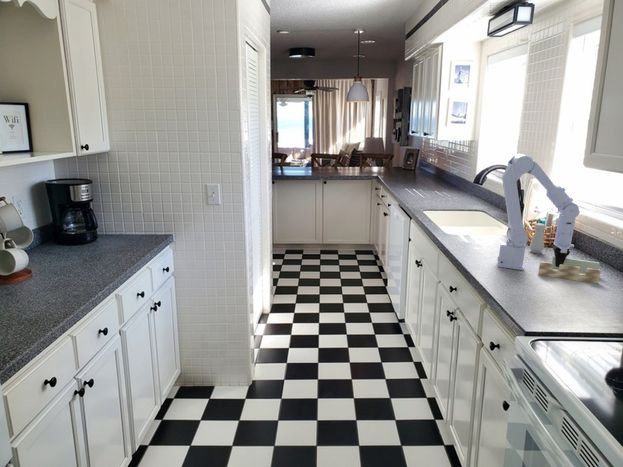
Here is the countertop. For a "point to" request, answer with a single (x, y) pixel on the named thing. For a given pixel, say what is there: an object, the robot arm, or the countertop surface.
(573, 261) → the green plate
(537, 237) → the salt shaker
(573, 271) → the maple slat
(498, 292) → the countertop surface
